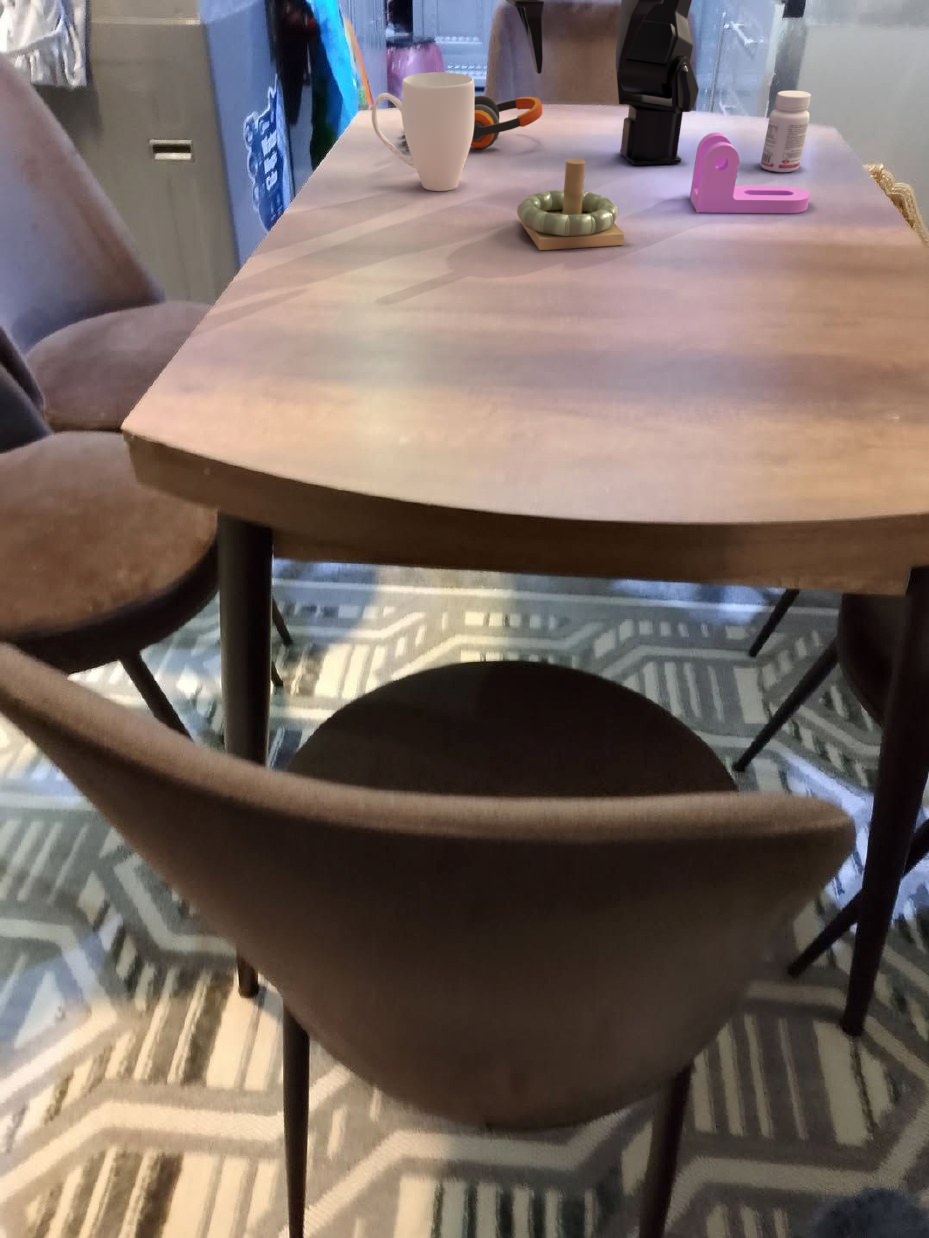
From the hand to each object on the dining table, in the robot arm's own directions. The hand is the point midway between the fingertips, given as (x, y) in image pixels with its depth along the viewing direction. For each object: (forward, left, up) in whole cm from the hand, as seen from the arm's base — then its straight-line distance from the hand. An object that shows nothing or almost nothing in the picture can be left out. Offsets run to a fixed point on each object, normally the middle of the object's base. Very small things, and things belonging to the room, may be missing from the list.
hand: (578, 71), depth 101 cm
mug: (+17, -5, -13) cm, 22 cm away
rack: (+4, +15, -12) cm, 20 cm away
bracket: (-19, +9, -13) cm, 25 cm away
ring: (+4, +15, -10) cm, 19 cm away
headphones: (+8, -24, -13) cm, 28 cm away
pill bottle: (-29, -5, -13) cm, 32 cm away
